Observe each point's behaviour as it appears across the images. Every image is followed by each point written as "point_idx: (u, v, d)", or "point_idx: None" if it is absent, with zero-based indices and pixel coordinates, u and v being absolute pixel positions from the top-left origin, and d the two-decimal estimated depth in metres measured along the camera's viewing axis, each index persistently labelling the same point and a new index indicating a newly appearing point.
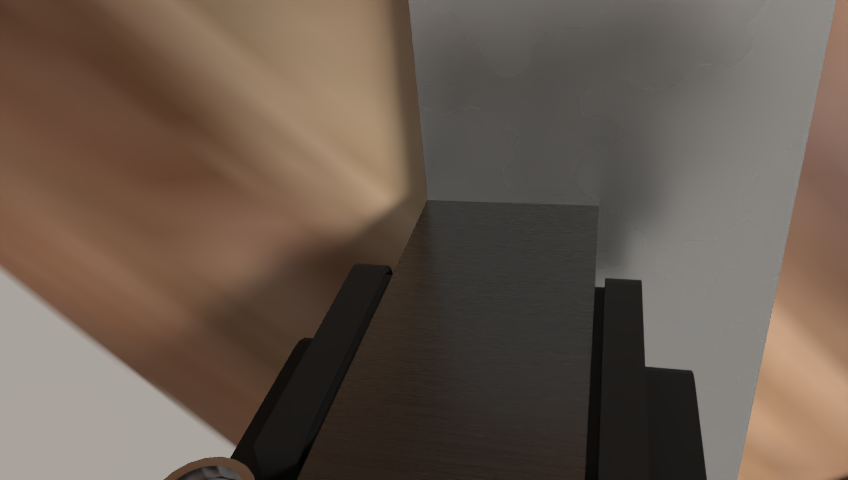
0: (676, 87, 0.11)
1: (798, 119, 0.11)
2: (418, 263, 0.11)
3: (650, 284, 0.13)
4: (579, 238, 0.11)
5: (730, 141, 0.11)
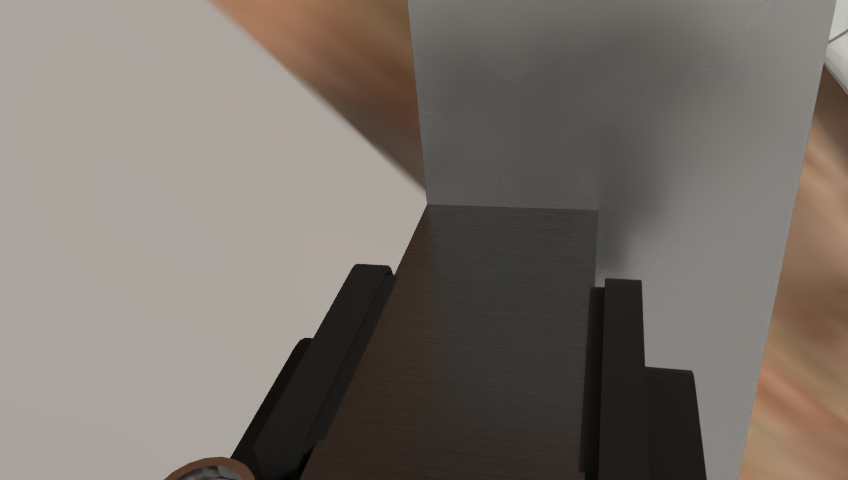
0: (676, 92, 0.11)
1: (798, 124, 0.11)
2: (418, 268, 0.11)
3: (650, 288, 0.13)
4: (579, 242, 0.11)
5: (730, 146, 0.11)
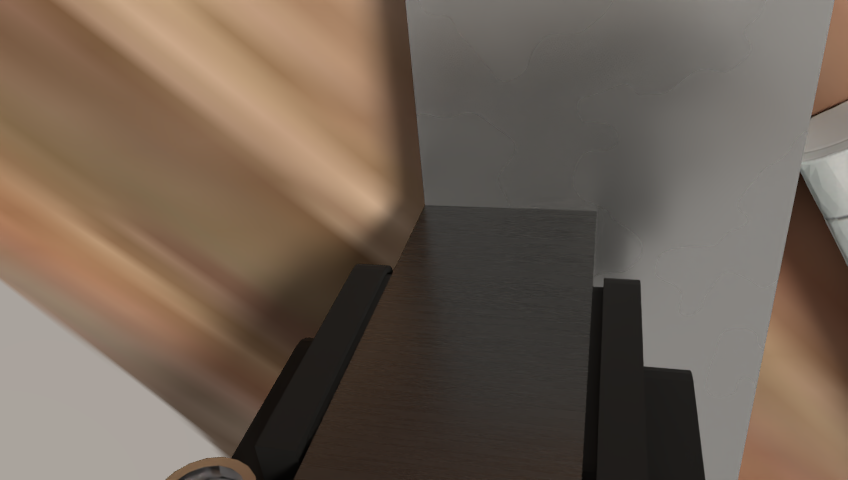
0: (674, 92, 0.11)
1: (796, 124, 0.11)
2: (415, 268, 0.11)
3: (648, 290, 0.13)
4: (576, 243, 0.11)
5: (728, 146, 0.11)
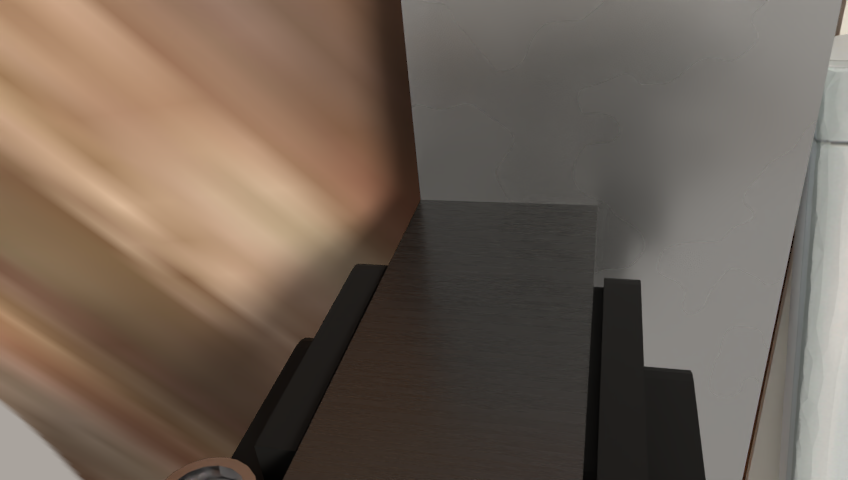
0: (677, 82, 0.10)
1: (804, 115, 0.10)
2: (409, 264, 0.11)
3: (650, 287, 0.12)
4: (577, 238, 0.11)
5: (733, 138, 0.11)
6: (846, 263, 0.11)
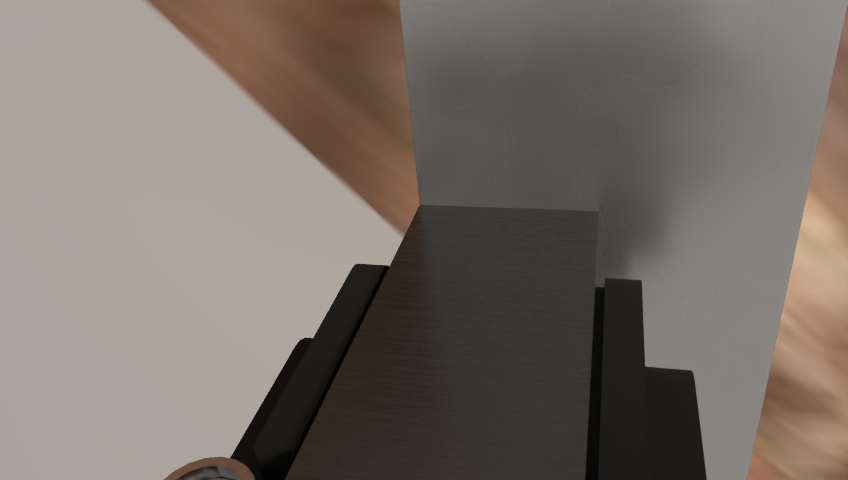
0: (680, 86, 0.10)
1: (808, 120, 0.10)
2: (408, 271, 0.11)
3: (652, 293, 0.12)
4: (578, 244, 0.11)
5: (737, 143, 0.10)
6: None
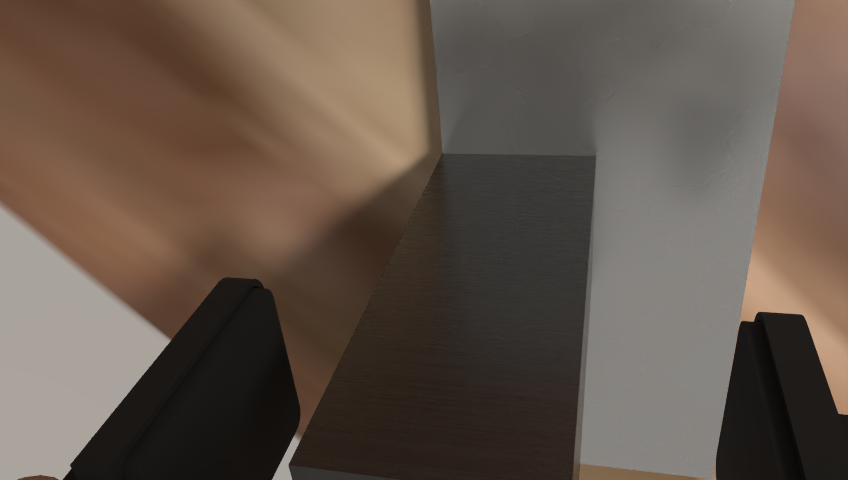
0: (663, 46, 0.12)
1: (770, 73, 0.12)
2: (436, 202, 0.13)
3: (642, 228, 0.14)
4: (578, 181, 0.13)
5: (711, 94, 0.12)
6: None
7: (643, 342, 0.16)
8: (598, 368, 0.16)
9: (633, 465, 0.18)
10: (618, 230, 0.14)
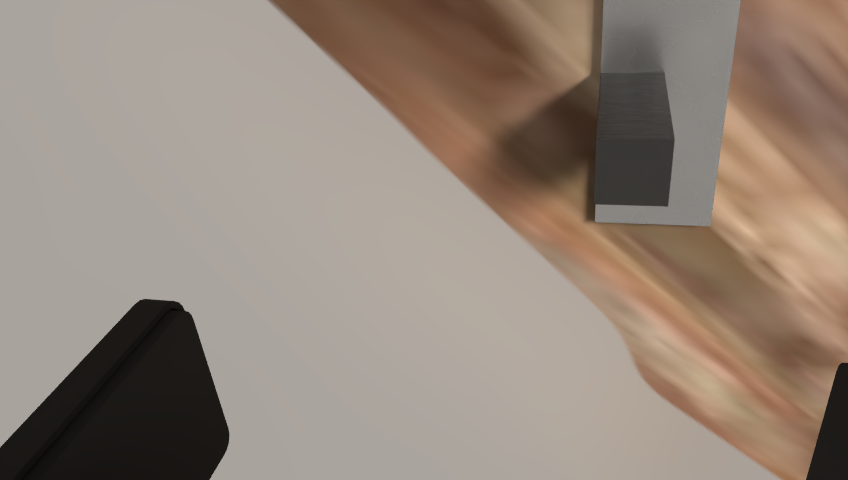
0: (691, 28, 0.33)
1: (731, 38, 0.33)
2: (606, 87, 0.33)
3: (682, 103, 0.35)
4: (659, 79, 0.34)
5: (709, 46, 0.33)
6: None
7: (680, 156, 0.37)
8: None
9: (674, 222, 0.39)
10: (672, 104, 0.35)
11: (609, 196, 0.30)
